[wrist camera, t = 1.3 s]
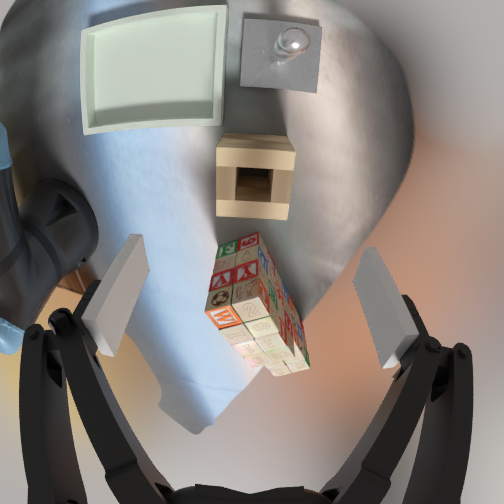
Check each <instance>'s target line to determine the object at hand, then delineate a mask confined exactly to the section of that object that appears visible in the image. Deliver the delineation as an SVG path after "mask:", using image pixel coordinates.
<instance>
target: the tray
mask: <svg viewBox="0 0 504 504" xmlns="http://www.w3.org/2000/svg"><path fill="white" fill-rule="evenodd" d="M228 19H229V9H228V7H227V5H209V6H194V7H184V8H175V9H167V10H161V11H155V12H149V13H144V14H139V15H134V16H130V17H125V18H121V19H117V20H113V21H110V22H106V23H103V24H99V25H96V26H93V27H90V28H87V29H84V30H82V31H81V49H80V90H81V109H82V122H83V132H84V135H89V134H96V133H104V132H112V131H120V130H130V129H141V128H156V127H176V126H221V125H222V124H223V118H224V91H225V69H226V50H227V34H228Z"/></svg>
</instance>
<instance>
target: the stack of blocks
mask: <svg viewBox="0 0 504 504" xmlns="http://www.w3.org/2000/svg"><path fill="white" fill-rule="evenodd" d="M215 259H216V261H215V265H214V269H213V275H212V277H211V282H210V287H209V293H208V298H207V302H206V307H205V313H206V315H207V316H208V317H209V318H210V319H211V321H212V322H213V323H214V324H215V325H216V327H217V328H219V332H220V333H221V334H222V335H223V336H224V337H225V339H226V340H227V341H228V342H229V343H230V344H231V345H232V347H233V348H234V349H235V350H236V351H237V352H238V353H239V354H240V355H241V356H243V358H244V359H245V360H246V361H247V363H248V364H249V365H250V366H251V367H252V368H253V367H258V366H263V365H265V366H266V368H268V369H269V370H270V372H271V373H272V374H273V375H274V376H280V375H285V374H290V373H292V372H297V371H301V370H305V369H309V368H310V363H309V356H308V352H307V346H306V339H305V335H304V327H303V324H302V322H301V320H300V318H299V315H298V313H297V311H296V309H295V307H294V304H293V302H292V300H291V298H290V296H289V294H288V293H287V290H286V288H285V286H284V284H283V282H282V280H281V278H280V276H279V274H278V272H277V270H276V268H275V265H274V262H273V260H272V258H271V256H270V254H269V252H268V250H267V247H266V245H265V243H264V241H263V239H262V237H261V235H260V233H259V232H257V233H254V234H251V235H249V236H246V237H243V238H240V239H238V240H236V241H233V242H230V243H227V244H224V245H222V246H219V247H218V250H217V254H216V258H215Z"/></svg>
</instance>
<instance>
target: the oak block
mask: <svg viewBox="0 0 504 504" xmlns="http://www.w3.org/2000/svg"><path fill="white" fill-rule="evenodd" d="M295 154H296V152H295V150H294V148H293V146H292V144H291V142H290V140H289V138H288V136H277V135H264V134H247V133H224V135H223V137H222V138H221V140H220V142H219V144H218V145H217V147H216V216H224V217H243V218H261V219H277V220H287V217H288V209H289V202H290V194H291V186H292V178H293V170H294V162H295ZM239 167H249V168H265V169H269V170H268V177H256V176H239Z"/></svg>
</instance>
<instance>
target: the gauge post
mask: <svg viewBox="0 0 504 504" xmlns="http://www.w3.org/2000/svg"><path fill="white" fill-rule="evenodd" d="M321 37H322V27H320V26H314V25H308V24H302V23H294V22H286V21H276V20H263V19H244V29H243V44H242V60H241V78H240V86H245V87H263V88H276V89H286V90H295V91H303V92H311V93H316V92H317V83H318V72H319V61H320V50H321Z"/></svg>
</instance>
